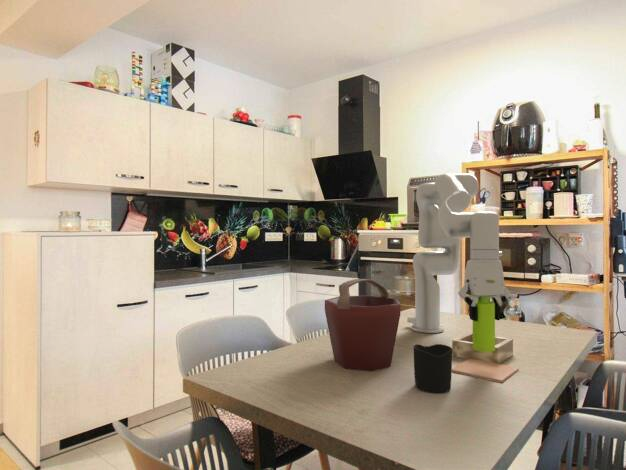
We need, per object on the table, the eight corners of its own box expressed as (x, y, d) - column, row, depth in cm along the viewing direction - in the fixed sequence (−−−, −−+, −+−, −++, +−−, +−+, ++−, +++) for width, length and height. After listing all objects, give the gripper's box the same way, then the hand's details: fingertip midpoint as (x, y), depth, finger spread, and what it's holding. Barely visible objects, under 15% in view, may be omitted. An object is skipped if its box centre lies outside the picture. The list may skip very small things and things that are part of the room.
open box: (452, 356, 136) (452, 340, 136) (469, 347, 147) (469, 332, 146) (498, 364, 127) (498, 347, 127) (512, 354, 137) (512, 339, 137)
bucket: (352, 379, 114) (352, 285, 114) (307, 359, 132) (307, 278, 132) (417, 364, 128) (417, 280, 127) (368, 348, 146) (368, 274, 146)
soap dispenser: (483, 353, 117) (483, 279, 117) (468, 346, 124) (468, 277, 124) (501, 352, 119) (501, 279, 119) (486, 345, 125) (486, 277, 125)
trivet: (450, 371, 121) (450, 369, 121) (469, 360, 131) (469, 358, 131) (502, 382, 112) (502, 380, 112) (518, 369, 122) (518, 367, 122)
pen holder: (423, 378, 115) (423, 341, 115) (458, 386, 109) (458, 347, 109) (406, 388, 108) (406, 348, 108) (443, 397, 102) (443, 355, 102)
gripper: (504, 254, 126) (505, 316, 126) (449, 255, 124) (449, 318, 124) (520, 256, 119) (521, 321, 119) (462, 256, 116) (462, 323, 116)
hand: (484, 319), depth 121 cm, fingers closed on soap dispenser, 5 cm apart
